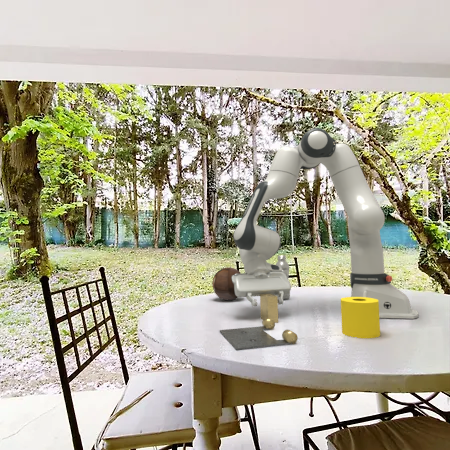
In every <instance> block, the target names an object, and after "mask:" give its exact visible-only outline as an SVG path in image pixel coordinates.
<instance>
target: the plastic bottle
mask: <svg viewBox="0 0 450 450" xmlns="http://www.w3.org/2000/svg"><path fill="white" fill-rule="evenodd" d="M286 260H287V257H286V255H284V254H282V255H277V262H276V263H275V265H278V266H281V267H282V272H283V273H284V274H285V275H286V276H287V278H288V279H289V274H290V265H289V263H288V262H287V261H286ZM275 296H277V298H280V297H278V295H275ZM290 297H291V291H290V292H289V293H288V294H284V295H283V301H284V300H288V299H290Z"/></svg>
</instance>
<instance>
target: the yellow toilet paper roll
mask: <svg viewBox="0 0 450 450" xmlns="http://www.w3.org/2000/svg"><path fill="white" fill-rule="evenodd" d="M340 316H341V332H342V334H343V335H344V334H345V336H346V335H347V337H350V336H351V337H350V338H355V337H357V338H356V339H375V338H376V337H377V338H379V337H381V324H380V323H381V322H380V318H379V300H377V299H374V298H367V297H351V296H347V297H341V298H340Z"/></svg>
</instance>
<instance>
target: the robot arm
mask: <svg viewBox="0 0 450 450" xmlns="http://www.w3.org/2000/svg"><path fill="white" fill-rule="evenodd" d="M298 143H299V144H298V145H297V146H295V147H291V146H284V147H280V148H279V149H278V150H277V151H276V153H275V155H274V157H273V159H272V162H271V164H270V167H269V171H268V174H267V177H266V178H265V180H264V181H260V182H259V183H258V184H257V185H256V188H255V189H254V190H253V193H252V195H251V197H250V199H249V202H248V203H247V206H246V208H245V210H244V212H243V214H242V217H241V219H240V221H239V222H238V224H237V226H236V227H235V229H234V231H233V234H232V235H233V242H234V243H235V245H236V247H237V248H238V249H239V257H240V260H241V263H242V264H243V270H244V272H242V273H241V272H240V273H241V274H235V275H233V276H232V282H233V283H234V290H235V295H236V296H237V297H238V298H246V300H247V301H248V302H249V303H251V307H257V305H258V300H257V299H256V298H255V299H254V297H260V294H268V293H270V294H272V295H275V296H276V295H278V297H280V298H278V306H279V305H284V302H285V301H284V300H283V295H284V294H288V293H289V292H290V293H291V289H292V284H291V282H290V280H289V278H287V276H286V275H285V274H284V273H283V272H282V267H281V266H278V265H276V264H272V263H269V262H267V260H270V259H271V258H272V257H274V256H275V255H276V254H277V253H278V252H279V251H280V248H281V246H282V238H281V235H280V234H279V232H277V231H275V230H273V229H269V228H267V227H263V226H260V225H257V222H258V221H257V220H258V219H259V217H260V215H261V214H260V213H261V211H262V209H263V206H264V205H265V203H266V202H267V201H269V200H274V199H277V200H278V199H283V198H286V197H288V196H289V197H290V195H291V194H292V193H294V191H295V189H296V185H297V182H298V177H299V174H300V171H301V170H312V169H314V168H317V167H318V166H320V165H321V164H322V166H323V167H325V168H326V170H327V171H328V175H329V176H330V179H331V182H332V184H333V187H334V189H335V192H336V194H337V197H338V199H339V200H340V202H341V205H342V207H343V208H344V210H345V212H346V215H347V216H348V218H347V226H348V227H347V228H348V240H349V248H350V249H349V250H350V267H351V268H350V269H351V273H350V276H349V280H350V281H349V283H350V288H351V294H350V295H351V296H350V297H367V298H374V299H377V300H379V319H380V318H381V319H405V320H406V319H407V320H409V319H412V320H414V319H417V318H419V312H418V311H417V310H416V309H414V308H412V305H411V302H410V299H409V297H408V296H407V294H405V293H404V292H402V291H401V290H400V289H399V288H397V287H396V286H394V285H393V284H392V281H393V276H391V275H390V274H387V273H386V272H385V264H384V263H385V260H384V249H383V245H382V238H381V232H380V230H382V228H383V227H384V224H385V220H386V219H385V213H384V211H383V210H382V208H381V205H380V204H379V202H378V200H377V197H376V196H375V195H374V192H373V191H372V189H371V188H370V186H369V184H368V182H367V179H366V177H365V175H364V173H363V169H362V168H361V165H360V163H359V161H358V159H357V157H356V155H355V154H354V151H352V148H350V146H349V144H348V145H347V143H342V142H339V143H337V142H336V139H334V138H333V137H332V136H331V135H330V134H329V133H328V131H326V130H324V129H323V128H320V127H319V128H318V127H314V128H311V129H309V130H308V131H306V132H305V133H304V134H303V135H302V137H301V140H300V141H299V142H298Z"/></svg>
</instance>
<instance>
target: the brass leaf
mask: <svg viewBox="0 0 450 450" xmlns="http://www.w3.org/2000/svg"><path fill="white" fill-rule="evenodd" d="M259 301H260V303H259V305H260V306H259V307H260V319H261V320H262V321H263V319H264V318H269V319H271V320H273V321H274V322H275V324H276V323H279V308H278V307H279V305H278V298H277V296H276V295H272V294H270V293H268V294H260V296H259Z"/></svg>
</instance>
